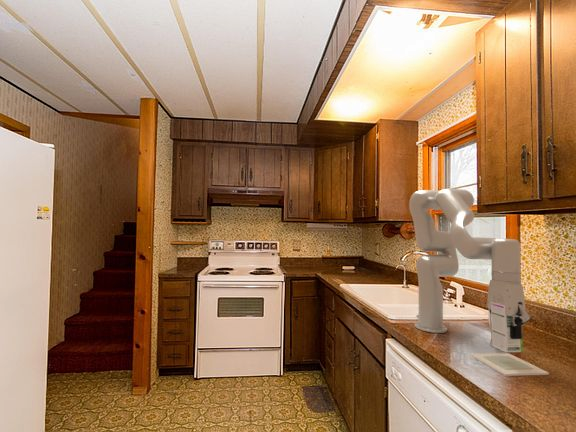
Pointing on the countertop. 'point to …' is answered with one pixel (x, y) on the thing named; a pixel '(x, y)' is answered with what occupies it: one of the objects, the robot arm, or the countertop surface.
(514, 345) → the syrup box
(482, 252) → the robot arm
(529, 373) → the tile
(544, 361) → the countertop surface
